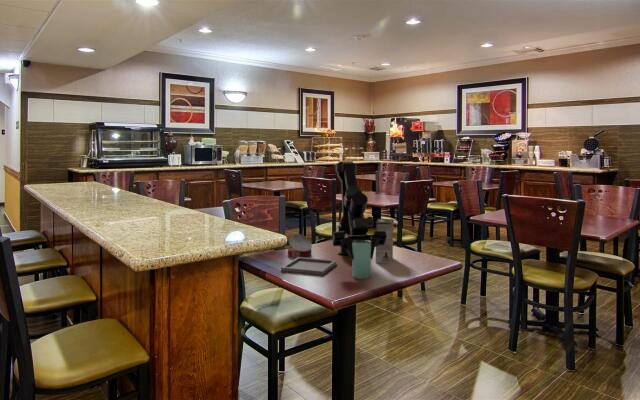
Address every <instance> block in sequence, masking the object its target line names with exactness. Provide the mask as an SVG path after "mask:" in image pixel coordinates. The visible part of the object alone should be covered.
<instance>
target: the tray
mask: <svg viewBox="0 0 640 400" xmlns="http://www.w3.org/2000/svg"><path fill="white" fill-rule="evenodd" d="M337 262H338V261H337V260H336V259H335V260H334V259H325V258H314V257H313V258H312V257H307V258H303V257H297V258H293V259H292V260H291V261H289V262H288V263H286V264H284V265H282V266H281V267H280V272H282V273H291V274H300V275H310V276H321V277H323V276H325V274H327V273H328V272H329V271H331V269H333V268H334V267H335V266H337Z"/></svg>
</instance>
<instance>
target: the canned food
mask: <svg viewBox="0 0 640 400" xmlns="http://www.w3.org/2000/svg"><path fill="white" fill-rule="evenodd" d="M288 243H289V245H290V247H288V248H287V257H288V258H290V259H292V258H293V259H296V258H297V257H303V258H311V256H312V248H313V245H312V243H311V242H310V241H309V239H308V238H307V237H306V236H305V235H303V234H300V233H296V234H293V235H291V236H290V237H289V239H288Z"/></svg>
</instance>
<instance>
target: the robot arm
mask: <svg viewBox="0 0 640 400" xmlns="http://www.w3.org/2000/svg"><path fill="white" fill-rule="evenodd" d="M357 168H358V165H357V163H355V162H353V160H349V161H348V160H340V161H339V160H338V162H337V163H335V173H336V175H337V179H339V181H340V185H341V187H340V188H341V209H342V211H341V212H342V213H341V214H342V216H341V218H340V221H339V222H338V225H337V229H336V230H337V231H333V235H332V245H333V246H334V247H340V251H339V252H337V255H342V256H349V257H350V260H351V261H352V260H353V253H352V242H354V241H369V242H371V260H373V258H374V252H375V249H376V247H377V246H378V245H384V244H385V241H386V237H387V235H386V232H385V231H376V230H374V232H373V234H367V233H369V227H373V225H374V217H373V216H367V217H365V215H364V214H365V212H366V209H367V204H368V203H369V202H368V200H369V198H368V196H367V195H366V194H365V193H363V191H362V189H361V188H359V186H358V180H357V175H356V173H357V171H358V169H357Z"/></svg>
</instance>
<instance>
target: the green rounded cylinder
mask: <svg viewBox="0 0 640 400" xmlns="http://www.w3.org/2000/svg"><path fill="white" fill-rule="evenodd" d="M352 253H353V260H352V259H351V261H352V263H351V265H352V266H351V270H352V271H351V273H352V274H351V277H352V278H353V279H358V280H365V279H370V278H371V274H372V273H371V272H372V271H371V270H372V269H371V268H372V267H371V265H372V264H371V263H372V261H371V260H372V259H371V242H370V241H354V242H352Z"/></svg>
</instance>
